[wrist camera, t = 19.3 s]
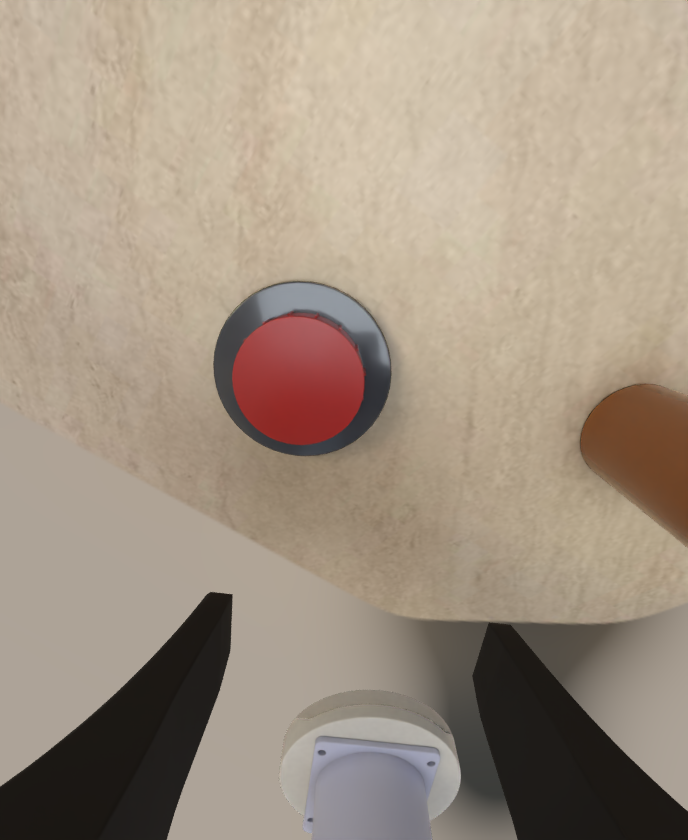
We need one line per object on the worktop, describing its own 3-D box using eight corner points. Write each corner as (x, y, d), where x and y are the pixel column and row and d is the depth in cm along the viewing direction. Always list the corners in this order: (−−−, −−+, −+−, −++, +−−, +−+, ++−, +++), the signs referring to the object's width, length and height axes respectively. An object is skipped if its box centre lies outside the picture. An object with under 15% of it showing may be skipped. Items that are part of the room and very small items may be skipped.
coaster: (376, 460, 20) (377, 465, 20) (215, 440, 20) (211, 445, 20) (404, 293, 18) (405, 294, 17) (219, 269, 18) (214, 269, 17)
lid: (306, 283, 17) (302, 284, 16) (389, 382, 18) (392, 391, 17) (215, 367, 18) (203, 376, 17) (299, 454, 20) (294, 469, 18)
